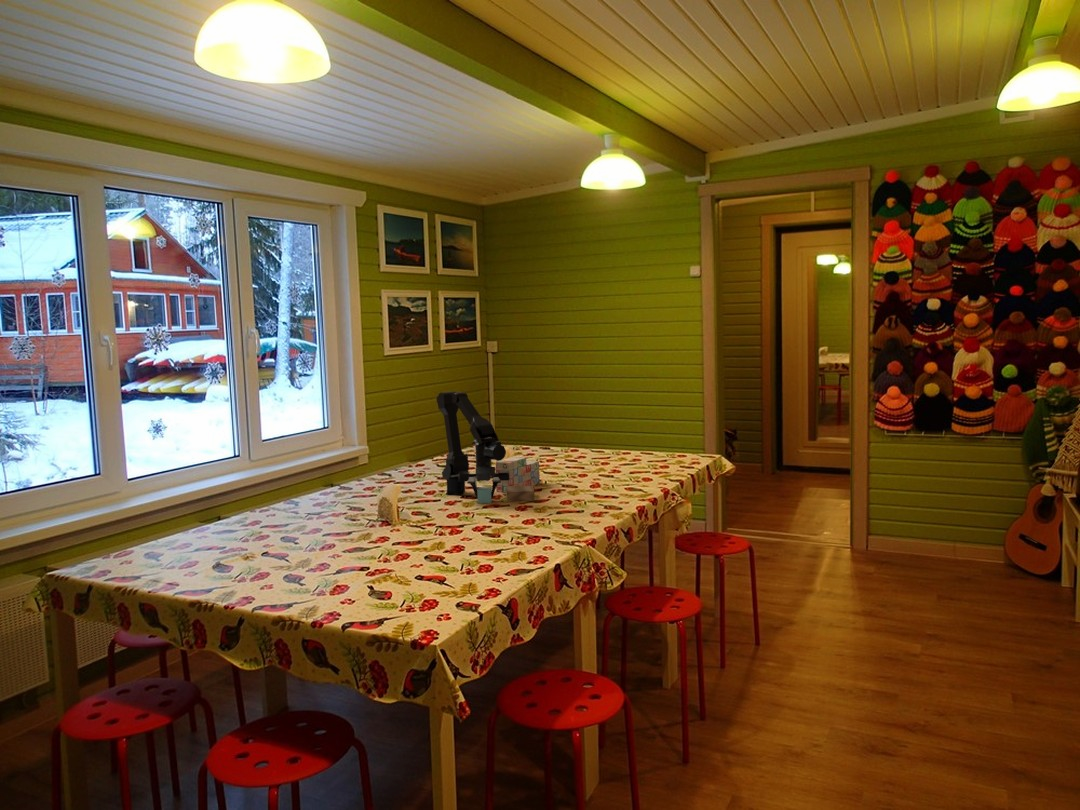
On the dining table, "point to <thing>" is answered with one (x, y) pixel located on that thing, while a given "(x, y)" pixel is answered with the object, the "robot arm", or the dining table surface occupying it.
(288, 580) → the dining table surface
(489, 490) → the teal cube
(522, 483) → the stack of blocks
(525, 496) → the walnut block
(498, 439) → the robot arm
